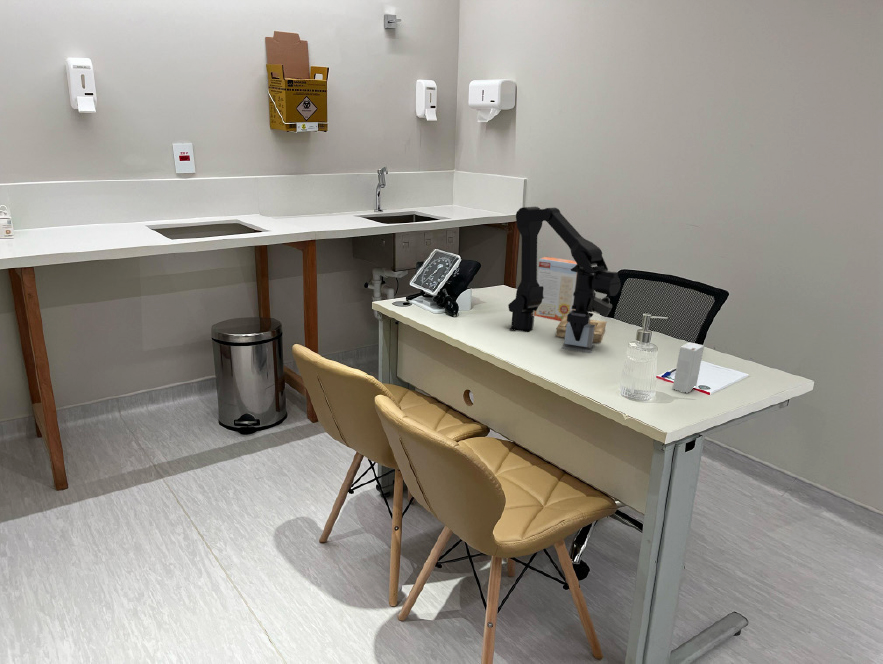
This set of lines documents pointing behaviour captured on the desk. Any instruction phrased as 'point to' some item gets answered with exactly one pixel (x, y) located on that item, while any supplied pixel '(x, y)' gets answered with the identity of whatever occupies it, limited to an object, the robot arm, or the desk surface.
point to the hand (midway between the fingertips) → (578, 338)
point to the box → (585, 338)
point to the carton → (599, 325)
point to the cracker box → (556, 287)
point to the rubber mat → (577, 348)
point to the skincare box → (688, 367)
